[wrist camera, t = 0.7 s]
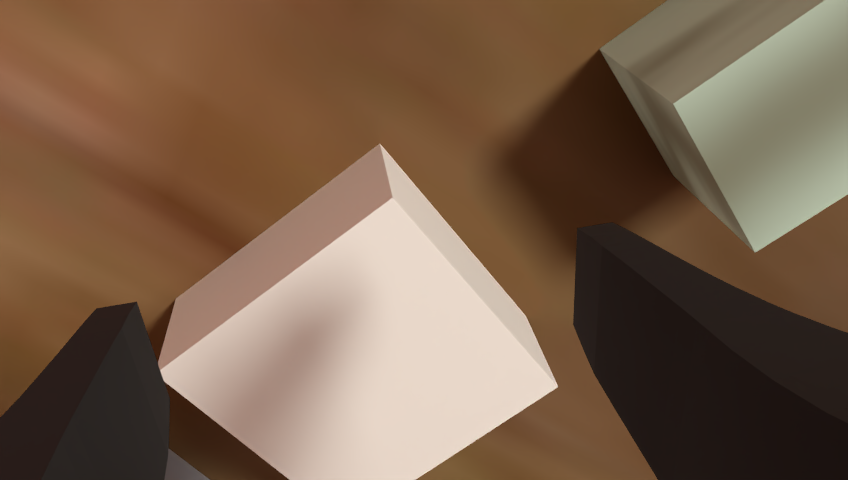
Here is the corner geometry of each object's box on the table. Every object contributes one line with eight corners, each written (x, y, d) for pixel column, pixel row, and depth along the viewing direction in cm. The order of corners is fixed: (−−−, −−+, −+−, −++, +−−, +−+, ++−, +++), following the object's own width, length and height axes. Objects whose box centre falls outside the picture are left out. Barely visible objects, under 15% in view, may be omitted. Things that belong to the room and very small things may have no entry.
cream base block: (523, 311, 26) (558, 386, 22) (341, 435, 27) (346, 524, 24) (379, 139, 22) (392, 197, 19) (177, 293, 24) (154, 374, 20)
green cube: (815, 79, 23) (936, 138, 18) (672, 175, 24) (755, 252, 19) (754, -63, 21) (875, -35, 16) (598, 48, 21) (673, 103, 17)
